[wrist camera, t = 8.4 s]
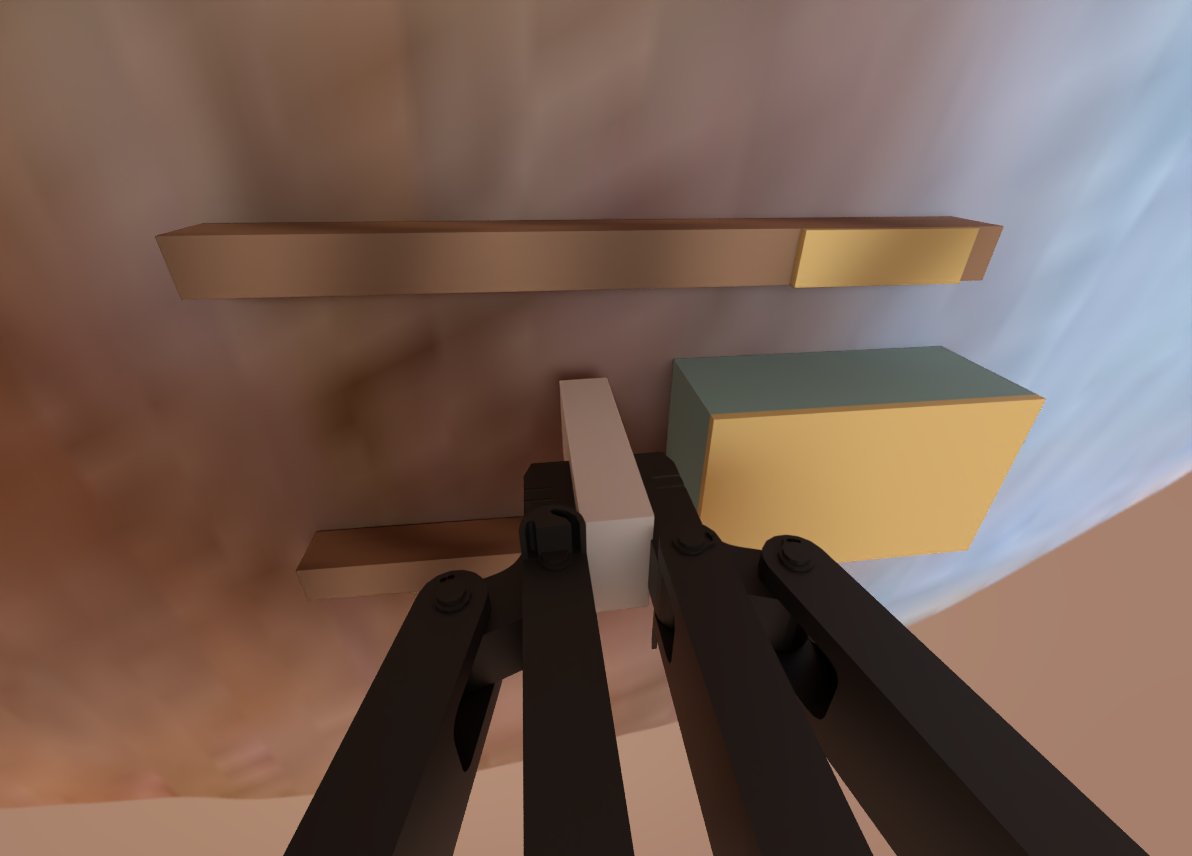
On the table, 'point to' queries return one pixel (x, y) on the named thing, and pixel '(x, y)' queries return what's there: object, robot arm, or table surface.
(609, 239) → the beam slot
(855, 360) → the block
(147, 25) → the table surface
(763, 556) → the robot arm
